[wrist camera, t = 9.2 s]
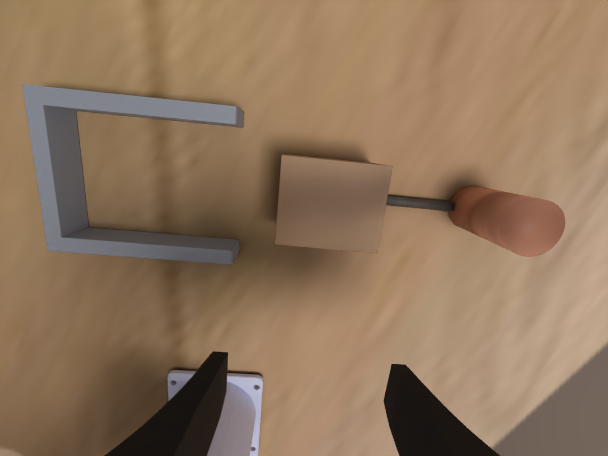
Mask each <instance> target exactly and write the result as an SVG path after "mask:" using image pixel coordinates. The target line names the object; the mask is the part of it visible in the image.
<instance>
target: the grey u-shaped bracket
mask: <svg viewBox="0 0 608 456" xmlns="http://www.w3.org/2000/svg"><path fill="white" fill-rule="evenodd" d="M22 87H23V94H24V100H25V107H26V113H27V119H28V126H29V132H30V139H31V145H32V152H33V158H34V165H35V171H36V178H37V184H38V191H39V197H40V204H41V210H42V217H43V223H44V230H45V236H46V243H47V249H48V251H58V252H71V253H84V254H97V255H111V256H124V257H137V258H150V259H163V260H176V261H189V262H202V263H215V264H229V265H232V264H233V262H234V260H235V258H236V256H237V255H238V253H239V240H240V239H227V238H215V237H202V236H190V235H178V234H165V233H153V232H140V231H128V230H116V229H103V228H91V227H89V225H88V215H87V206H86V197H85V188H84V179H83V170H82V161H81V152H80V143H79V134H78V125H77V116H76V111H82V112H92V113H102V114H112V115H122V116H132V117H142V118H152V119H162V120H172V121H182V122H192V123H202V124H212V125H222V126H232V127H242V128H243V126H244V112H243V111H242V110H241V109H239V108H238V107H237V106H228V105H219V104H209V103H199V102H190V101H180V100H170V99H161V98H151V97H141V96H132V95H122V94H112V93H103V92H93V91H83V90H74V89H64V88H54V87H45V86H35V85H25V84H22Z"/></svg>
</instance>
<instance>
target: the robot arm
mask: <svg viewBox="0 0 608 456" xmlns="http://www.w3.org/2000/svg"><path fill="white" fill-rule="evenodd" d="M227 364H228V352H212V353H211V354H210V355H209V357H208V358H207V359H206V361H205V362H204V363H203V364H202V365H201V367H200V368H199V369H198V370H197V371H183V370H172V371H170V373H169V374H168V402H167V403H166V404H165V405H164V406H163V407H162V408H161V409H160V410H159V411H158V412H157V413H156V414H155V415H154V416H153V417H152V418H151V419H149V420H148V421H147V422H146V423H145V424H144V425H143V426H141V427H140V428H139V429H138V430H137V431H135V432H134V433H133V434H132V435H130V436H129V437H128V438H127V439H125V440H124V441H123V442H122V443H121V444H119V445H118V446H117V447H115V448H114V449H113V450H111V451H110V452H109V453H107V454H106V455H105V456H258V450H259V435H260V420H261V405H262V390H263V378H262V376H260V375H252V374H235V373H227ZM173 380H174V381H176V382H174V381H173ZM255 385H258V386H255ZM384 405H385V409H386V414H387V418H388V422H389V427H390V430H391V433H392V435H393V438H394V441H395V444H396V447H397V450H398V453H399V456H499V454H497V453H496V452H495V451H494V450H492V449H491V448H490V447H489V446H488V445H486V444H485V443H484V442H483V441H482V440H481V439H479V438H478V437H477V436H476V435H475V434H474V433H472V432H471V431H470V430H469V429H468V428H467V427H466V426H465V425H464V424H463V423H462V422H461V421H459V420H458V419H457V418H456V417H455V416H454V415H453V414H452V413H451V412H450V411H449V410H448V409H447V408H446V407H445V406H444V405H443V404H442V403H441V402H440V401H439V400H438V399H437V398H436V397H435V396H434V395H433V394H432V393H431V392H430V390H429V389H428V388H427V387H426V386H425V385H424V384H423V383H422V382H421V381H420V380H419V379H418V378H417V377H416V375H415V374H414V373H413V372H412V371H411V370H410V369H409V368H408V367H407V366H406V365H401V364H392V365H391V370H390V374H389V379H388V383H387V388H386V392H385V397H384Z"/></svg>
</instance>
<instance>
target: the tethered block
mask: <svg viewBox="0 0 608 456" xmlns="http://www.w3.org/2000/svg"><path fill="white" fill-rule="evenodd" d="M392 169H393V166H387V165H381V164H375V163H369V162H359V161H350V160H340V159H330V158H320V157H311V156H301V155H291V154H284V155H282V158H281V171H280V185H279V198H278V211H277V224H276V237H275V244H276V245H288V246H299V247H311V248H322V249H334V250H345V251H357V252H368V253H378V247H379V242H380V236H381V230H382V225H383V219H384V214H385V208H386V205H390V206H400V207H411V208H421V209H432V210H442V211H449V216H450V219H451V221H452V222H453V223H454V224H455V225H457V226H459V227H461V228H463V229H465V230H467V231H469V232H471V233H473V234H476V235H478V236H480V237H482V238H484V239H486V240H488V241H490V242H492V243H495V244H497V245H499V246H501V247H503V248H505V249H507V250H509V251H512V252H514V253H516V254H518V255H520V256H525V257H533V256H538V255H541V254H543V253H545V252H547V251H549V250H550V249H551V248H552V247H553V246H555V244H556V243H557V242H558V241H559V239H560V238H561V236H562V234H563V231H564V228H565V217H564V214H563V211H562V210H561V208H560V207H559V206H558V205H557V204H555V203H553V202H551V201H548V200H543V199H538V198H533V197H528V196H523V195H518V194H513V193H508V192H503V191H498V190H493V189H488V188H483V187H477V186H469V187H466V188H463V189H461V190H460V191H458V192H457V193H456V194H455V195H454V197H453V198H452V200H451V202H450V201H439V200H429V199H419V198H408V197H398V196H388V191H389V186H390V180H391V174H392Z"/></svg>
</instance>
